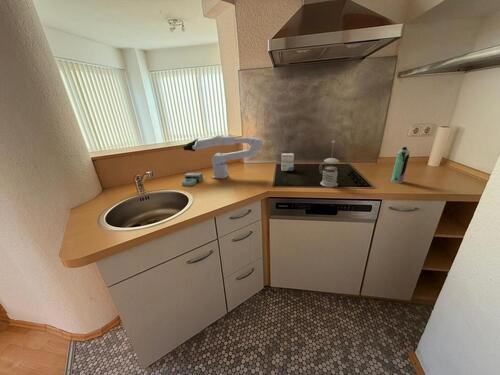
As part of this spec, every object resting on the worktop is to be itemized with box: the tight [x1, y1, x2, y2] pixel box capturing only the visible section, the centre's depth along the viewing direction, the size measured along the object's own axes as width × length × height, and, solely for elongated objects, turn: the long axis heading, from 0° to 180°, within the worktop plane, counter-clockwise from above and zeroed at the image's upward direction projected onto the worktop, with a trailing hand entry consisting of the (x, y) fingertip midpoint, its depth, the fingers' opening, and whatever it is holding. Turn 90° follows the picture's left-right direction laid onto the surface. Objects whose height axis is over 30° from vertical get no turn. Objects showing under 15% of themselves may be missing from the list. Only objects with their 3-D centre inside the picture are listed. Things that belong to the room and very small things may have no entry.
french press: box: [319, 140, 340, 188], centre depth 115 cm, size 10×12×25 cm
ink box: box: [280, 153, 295, 172], centre depth 145 cm, size 8×5×12 cm, turn 84°
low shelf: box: [184, 172, 204, 183], centre depth 133 cm, size 10×5×4 cm, turn 77°
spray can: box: [390, 146, 411, 184], centre depth 114 cm, size 6×6×20 cm
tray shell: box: [181, 178, 198, 187], centre depth 128 cm, size 7×6×2 cm
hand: (185, 146), depth 133 cm, fingers open, 7 cm apart
